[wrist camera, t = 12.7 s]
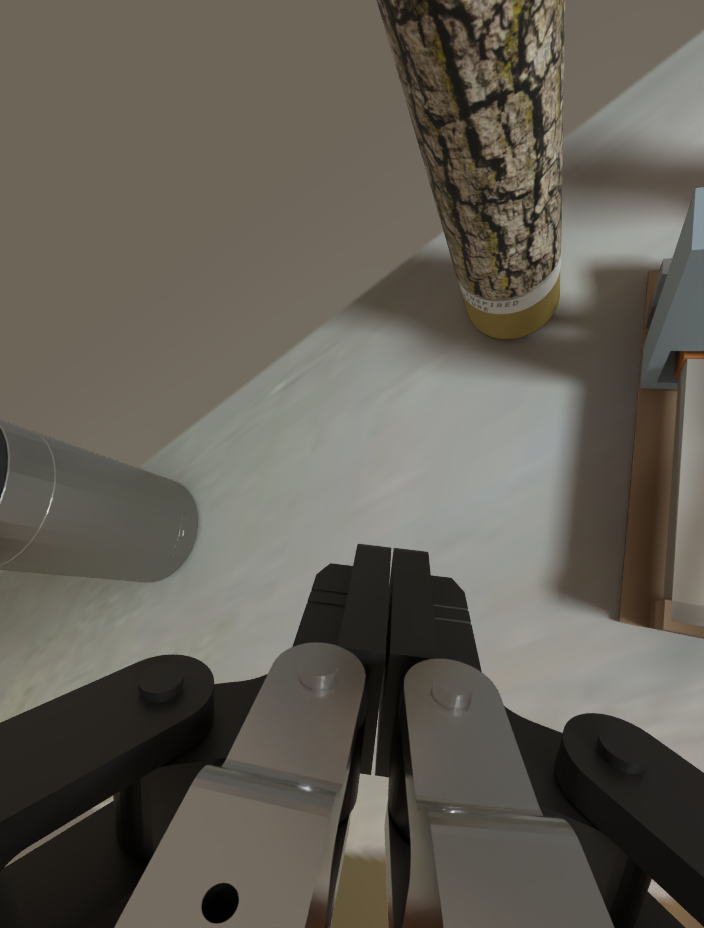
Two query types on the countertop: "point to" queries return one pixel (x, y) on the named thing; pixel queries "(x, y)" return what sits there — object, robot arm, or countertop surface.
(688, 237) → the light blue block
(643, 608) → the rail
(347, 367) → the countertop surface
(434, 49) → the paper tube
